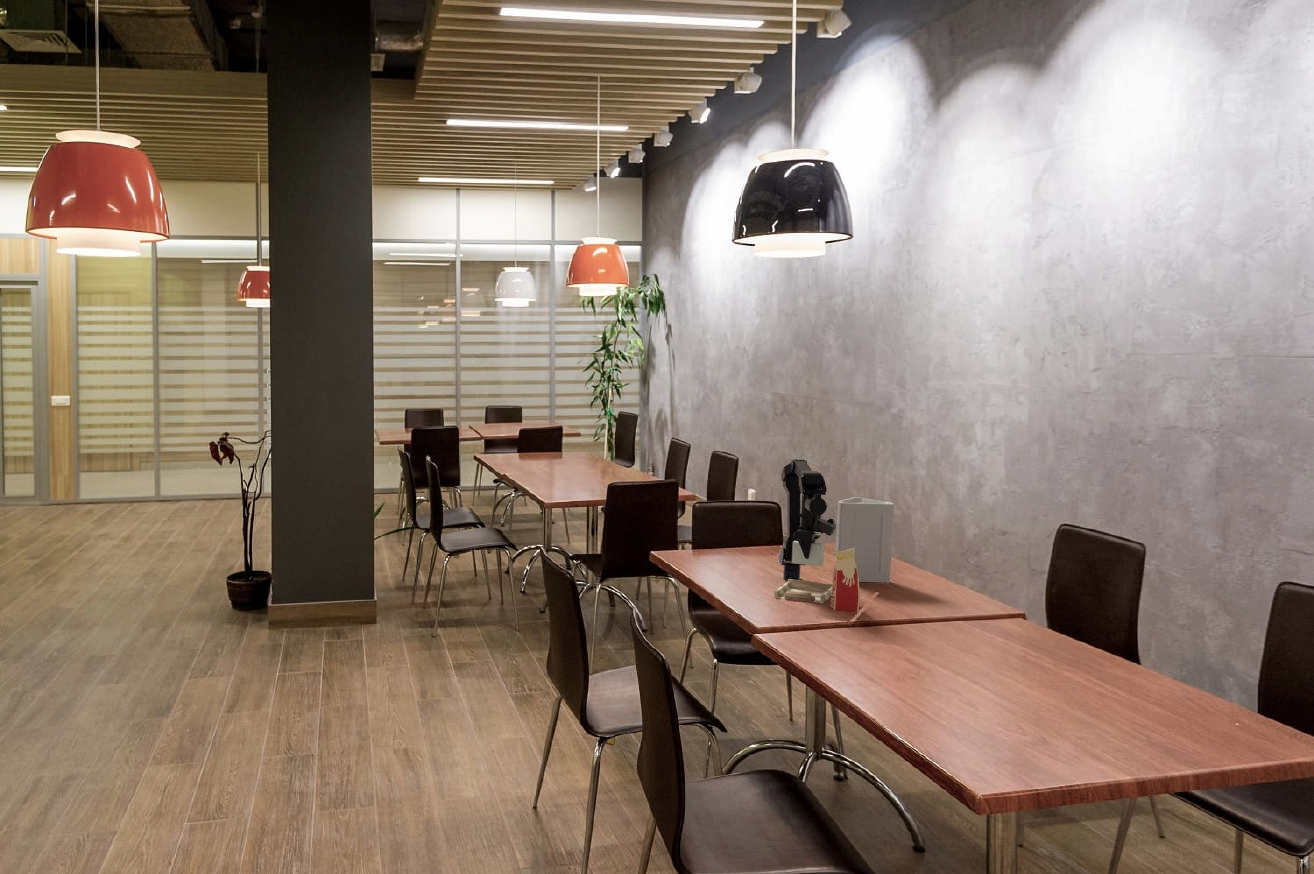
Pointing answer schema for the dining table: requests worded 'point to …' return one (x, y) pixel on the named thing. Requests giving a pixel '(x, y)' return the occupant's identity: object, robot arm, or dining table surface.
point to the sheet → (814, 557)
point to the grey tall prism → (867, 536)
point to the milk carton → (845, 582)
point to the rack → (806, 589)
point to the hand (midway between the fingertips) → (807, 557)
